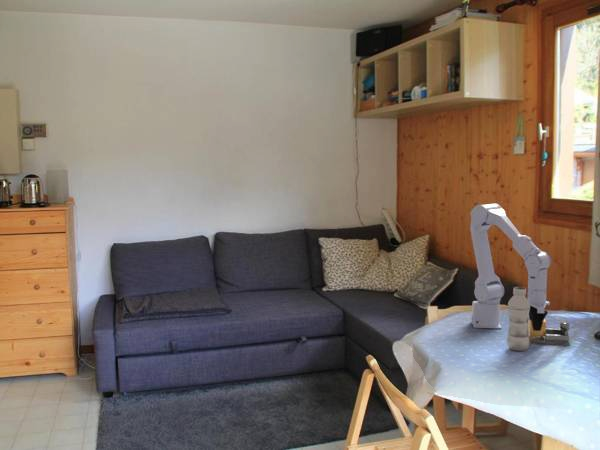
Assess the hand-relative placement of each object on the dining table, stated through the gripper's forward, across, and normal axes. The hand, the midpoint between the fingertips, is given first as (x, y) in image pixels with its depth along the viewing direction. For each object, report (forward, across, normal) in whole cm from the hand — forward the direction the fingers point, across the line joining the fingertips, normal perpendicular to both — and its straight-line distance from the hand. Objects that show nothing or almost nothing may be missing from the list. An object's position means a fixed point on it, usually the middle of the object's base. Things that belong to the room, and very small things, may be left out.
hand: (535, 328), depth 190 cm
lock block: (+2, 0, 0) cm, 2 cm away
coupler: (+3, 0, -4) cm, 5 cm away
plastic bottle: (+4, -12, +8) cm, 15 cm away
